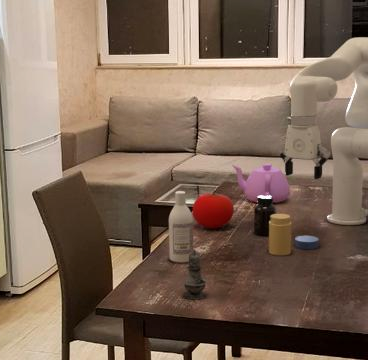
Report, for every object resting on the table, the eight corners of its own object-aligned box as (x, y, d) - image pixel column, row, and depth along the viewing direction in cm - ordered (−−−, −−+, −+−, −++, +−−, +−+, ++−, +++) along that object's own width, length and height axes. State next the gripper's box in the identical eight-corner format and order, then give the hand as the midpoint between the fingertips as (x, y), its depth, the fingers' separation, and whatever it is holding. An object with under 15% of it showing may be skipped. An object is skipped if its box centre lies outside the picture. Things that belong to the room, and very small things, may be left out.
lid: (294, 248, 222) (294, 241, 221) (295, 242, 228) (295, 235, 228) (318, 249, 220) (318, 242, 220) (318, 243, 227) (318, 236, 226)
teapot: (231, 193, 295) (231, 159, 293) (287, 193, 292) (288, 158, 290) (231, 206, 274) (231, 170, 271) (291, 206, 271) (292, 169, 268)
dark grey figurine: (181, 291, 189) (180, 246, 187) (204, 290, 189) (203, 245, 187) (185, 300, 183) (184, 253, 181) (208, 298, 184) (208, 252, 181)
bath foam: (198, 260, 213) (197, 192, 209) (177, 264, 210) (175, 195, 206) (185, 254, 219) (184, 188, 215) (165, 258, 216) (163, 191, 212)
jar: (289, 248, 222) (289, 213, 220) (292, 255, 216) (293, 218, 213) (267, 249, 222) (267, 213, 220) (270, 255, 216) (270, 219, 214)
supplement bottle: (275, 236, 235) (275, 199, 232) (253, 236, 236) (253, 199, 234) (275, 230, 241) (276, 194, 239) (254, 230, 243) (254, 194, 240)
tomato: (191, 222, 255) (191, 188, 253) (231, 221, 254) (231, 187, 252) (193, 232, 242) (193, 197, 240) (235, 231, 242) (235, 196, 239)
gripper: (271, 120, 226) (272, 175, 230) (324, 124, 214) (323, 182, 218) (284, 117, 231) (284, 171, 235) (336, 121, 220) (335, 177, 224)
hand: (303, 176), depth 227 cm, fingers open, 9 cm apart
